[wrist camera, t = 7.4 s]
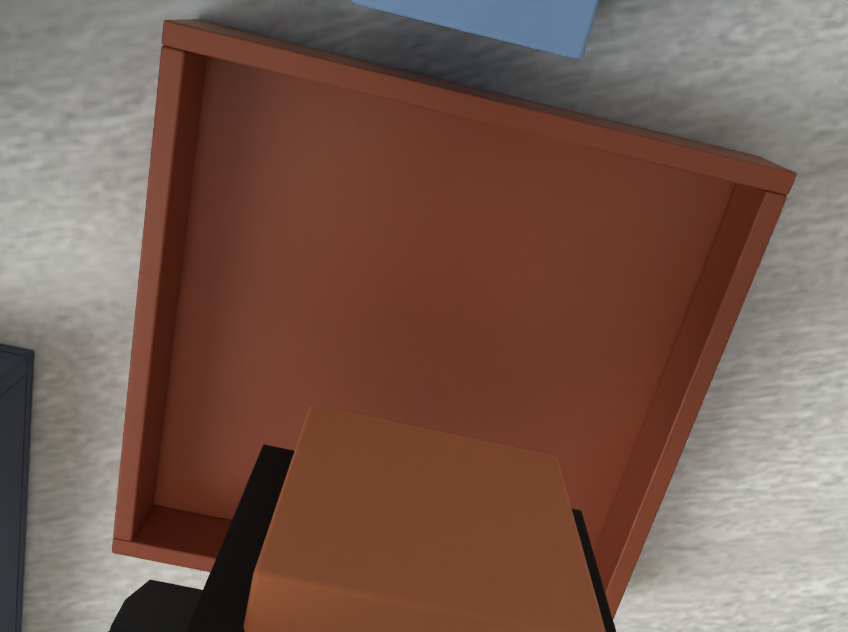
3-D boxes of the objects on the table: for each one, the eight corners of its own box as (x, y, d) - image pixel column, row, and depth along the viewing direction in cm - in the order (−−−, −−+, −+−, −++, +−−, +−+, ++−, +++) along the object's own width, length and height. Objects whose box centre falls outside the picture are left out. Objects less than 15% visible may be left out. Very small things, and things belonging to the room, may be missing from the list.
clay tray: (192, 18, 21) (163, 19, 18) (761, 156, 22) (797, 173, 20) (138, 508, 27) (110, 553, 24) (588, 598, 28) (601, 650, 25)
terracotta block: (310, 401, 15) (252, 573, 10) (558, 454, 15) (611, 644, 11) (270, 603, 17) (205, 827, 12) (494, 646, 17) (515, 881, 12)
